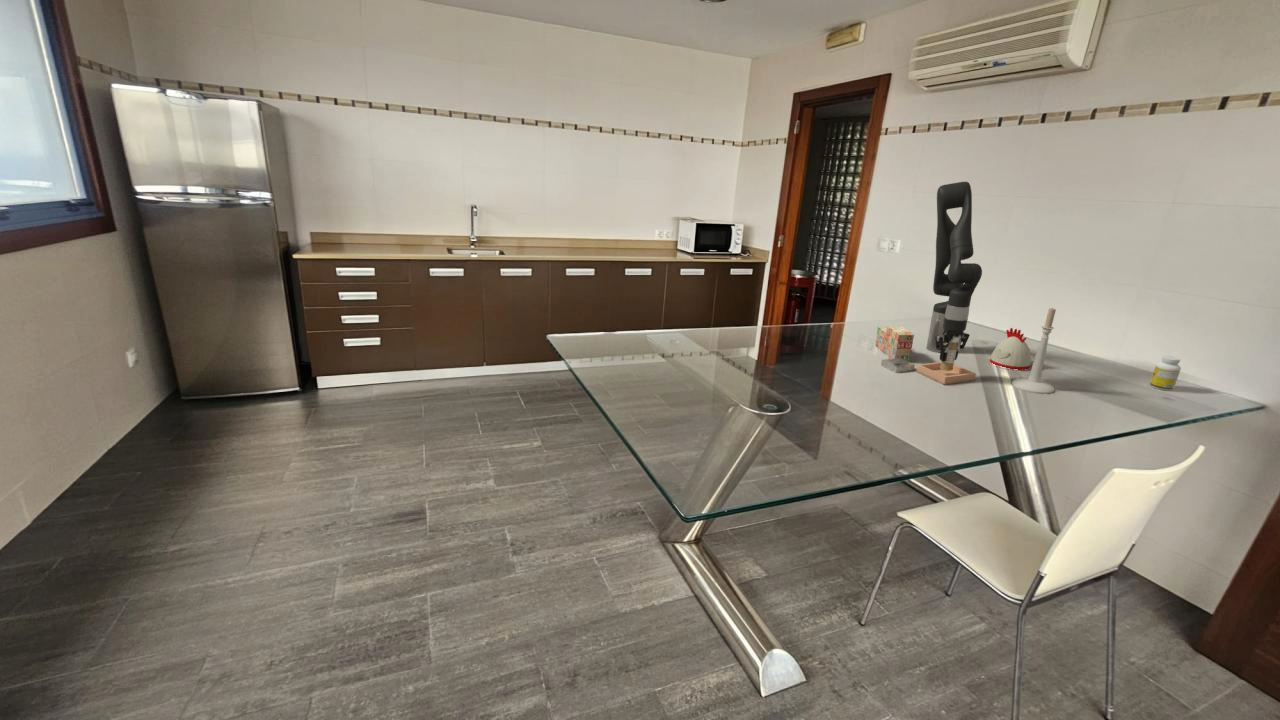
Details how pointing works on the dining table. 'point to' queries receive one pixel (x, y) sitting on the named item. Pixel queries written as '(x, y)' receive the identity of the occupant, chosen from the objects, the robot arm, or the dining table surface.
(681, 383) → the dining table surface
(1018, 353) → the kitchen timer
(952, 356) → the sprinkles bottle
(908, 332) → the colourful printed box
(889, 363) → the grey flat square frame
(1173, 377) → the pill bottle
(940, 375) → the tray
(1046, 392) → the candlestick
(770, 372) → the dining table surface
